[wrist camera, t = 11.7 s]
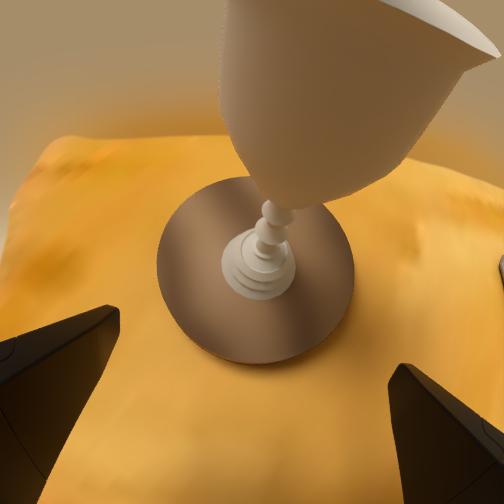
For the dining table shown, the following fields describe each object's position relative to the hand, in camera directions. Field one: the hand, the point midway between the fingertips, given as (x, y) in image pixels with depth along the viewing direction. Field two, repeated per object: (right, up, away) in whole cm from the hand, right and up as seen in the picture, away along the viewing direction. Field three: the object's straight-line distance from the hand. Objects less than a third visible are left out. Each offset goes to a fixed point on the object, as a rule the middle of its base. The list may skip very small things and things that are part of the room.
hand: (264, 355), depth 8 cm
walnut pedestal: (0, +2, +15) cm, 15 cm away
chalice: (0, +2, +12) cm, 12 cm away
